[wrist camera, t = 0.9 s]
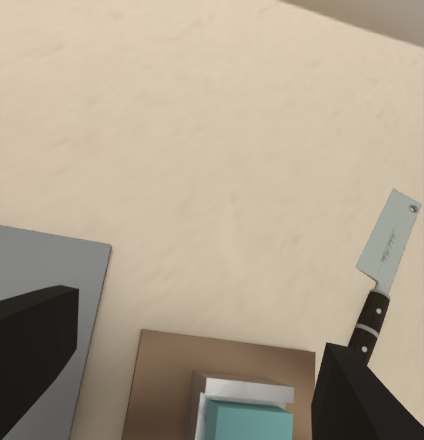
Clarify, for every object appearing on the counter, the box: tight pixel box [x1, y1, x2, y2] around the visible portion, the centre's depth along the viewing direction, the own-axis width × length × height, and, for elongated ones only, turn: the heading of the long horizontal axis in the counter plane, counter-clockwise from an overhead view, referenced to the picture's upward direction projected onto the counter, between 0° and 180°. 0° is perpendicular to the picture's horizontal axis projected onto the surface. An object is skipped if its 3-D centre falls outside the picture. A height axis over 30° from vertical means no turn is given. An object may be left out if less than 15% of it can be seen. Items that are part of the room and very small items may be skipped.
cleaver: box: [348, 189, 422, 365], centre depth 29 cm, size 17×1×5 cm
